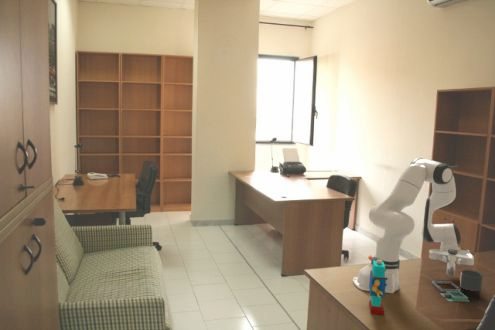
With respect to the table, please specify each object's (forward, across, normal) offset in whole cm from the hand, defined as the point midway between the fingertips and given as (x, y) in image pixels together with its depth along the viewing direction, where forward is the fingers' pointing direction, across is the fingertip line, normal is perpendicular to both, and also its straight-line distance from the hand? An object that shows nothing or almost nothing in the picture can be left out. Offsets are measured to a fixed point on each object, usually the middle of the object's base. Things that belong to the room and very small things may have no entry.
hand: (451, 261), depth 203 cm
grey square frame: (0, -1, +14) cm, 15 cm away
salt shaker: (-1, 0, +6) cm, 7 cm away
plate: (+10, +2, +14) cm, 18 cm away
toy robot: (+40, -31, +14) cm, 52 cm away
